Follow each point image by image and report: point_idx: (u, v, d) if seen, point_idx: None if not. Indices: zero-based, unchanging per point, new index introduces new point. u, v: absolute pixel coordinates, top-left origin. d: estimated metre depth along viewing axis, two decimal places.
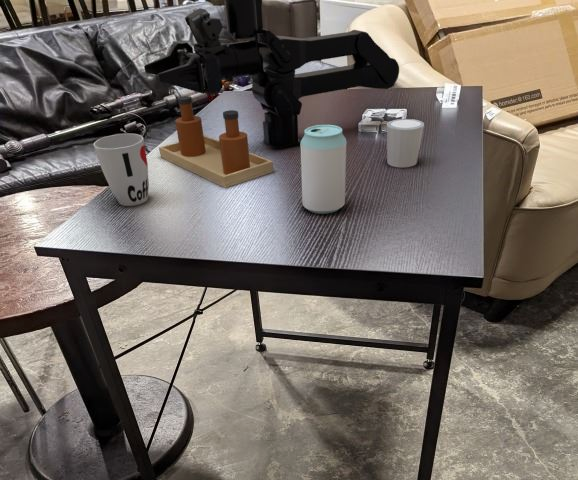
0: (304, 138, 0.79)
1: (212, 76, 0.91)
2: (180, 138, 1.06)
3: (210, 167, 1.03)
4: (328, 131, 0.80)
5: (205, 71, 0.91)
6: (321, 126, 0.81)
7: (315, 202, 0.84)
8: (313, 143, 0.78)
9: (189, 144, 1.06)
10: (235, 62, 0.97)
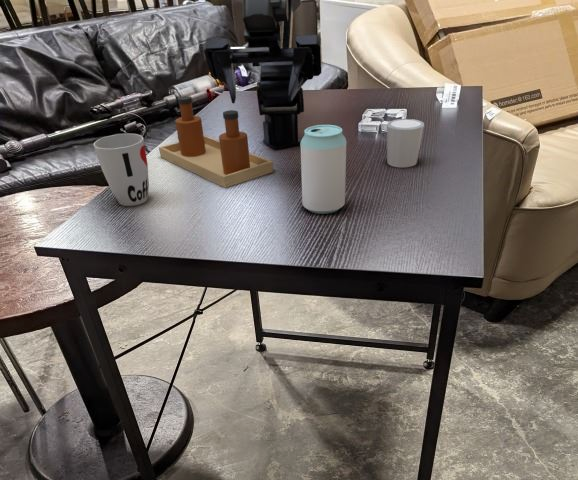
0: (304, 138, 0.79)
1: None
2: (180, 138, 1.06)
3: (210, 167, 1.03)
4: (328, 131, 0.80)
5: (316, 57, 0.84)
6: (321, 126, 0.81)
7: (315, 202, 0.84)
8: (313, 143, 0.78)
9: (189, 144, 1.06)
10: (283, 21, 0.87)
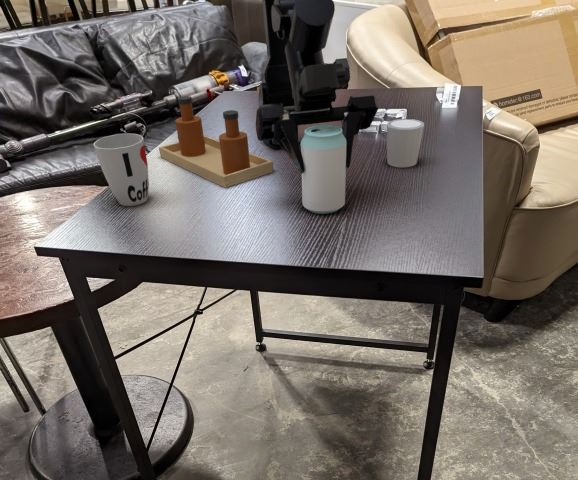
0: (304, 138, 0.79)
1: None
2: (180, 138, 1.06)
3: (210, 167, 1.03)
4: (328, 131, 0.80)
5: (370, 116, 0.83)
6: (321, 126, 0.81)
7: (315, 202, 0.84)
8: (313, 143, 0.78)
9: (189, 144, 1.06)
10: None
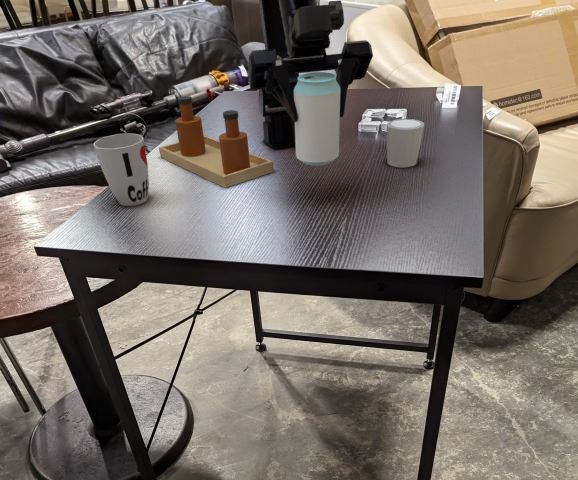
0: (297, 85, 0.78)
1: None
2: (180, 138, 1.06)
3: (210, 167, 1.03)
4: (322, 78, 0.78)
5: (365, 64, 0.81)
6: (315, 74, 0.80)
7: (308, 153, 0.82)
8: (306, 89, 0.77)
9: (189, 144, 1.06)
10: None
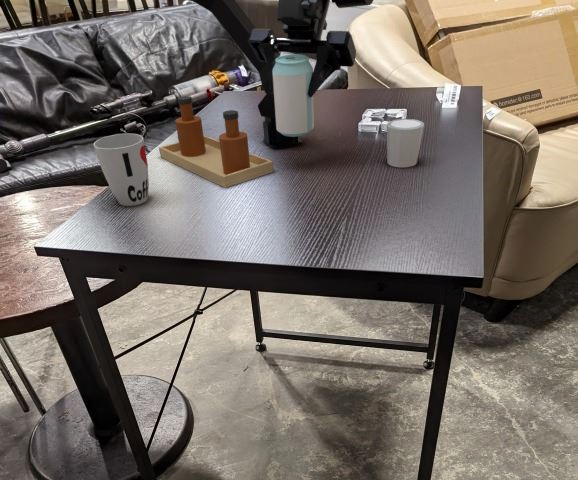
0: None
1: (352, 51, 0.90)
2: (180, 138, 1.06)
3: (210, 167, 1.03)
4: (296, 60, 0.90)
5: (345, 53, 0.89)
6: (299, 55, 0.92)
7: (278, 123, 0.96)
8: (275, 68, 0.90)
9: (189, 144, 1.06)
10: (326, 8, 0.91)
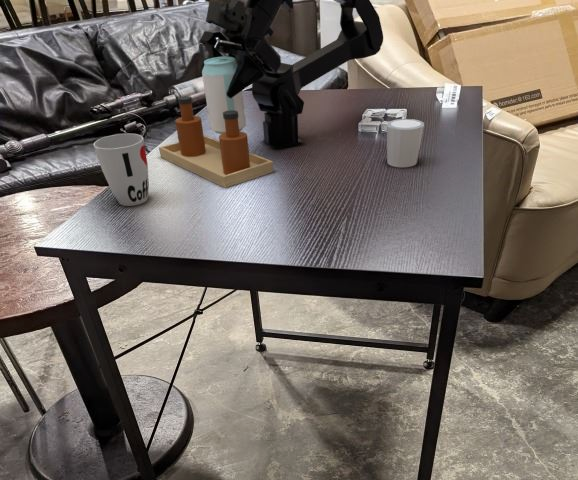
0: None
1: (270, 58, 0.92)
2: (180, 138, 1.06)
3: (210, 167, 1.03)
4: (222, 62, 0.95)
5: (262, 59, 0.92)
6: (232, 58, 0.97)
7: (209, 119, 1.02)
8: None
9: (189, 144, 1.06)
10: (266, 15, 0.94)
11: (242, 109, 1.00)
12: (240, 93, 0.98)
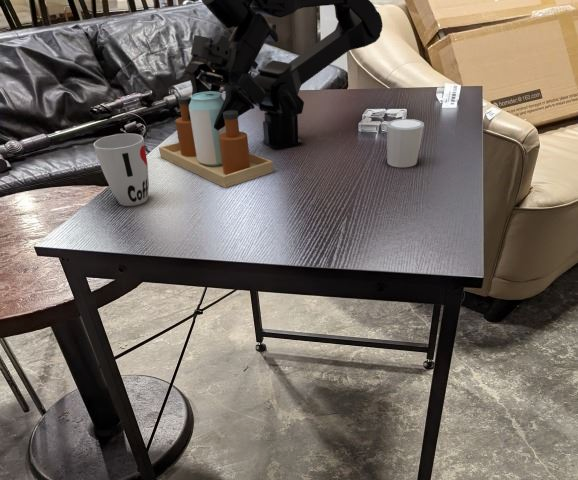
0: None
1: (253, 92, 0.93)
2: (180, 138, 1.06)
3: (210, 167, 1.03)
4: (208, 97, 0.97)
5: (246, 93, 0.93)
6: (218, 93, 0.98)
7: None
8: None
9: (189, 144, 1.06)
10: (251, 49, 0.96)
11: None
12: None
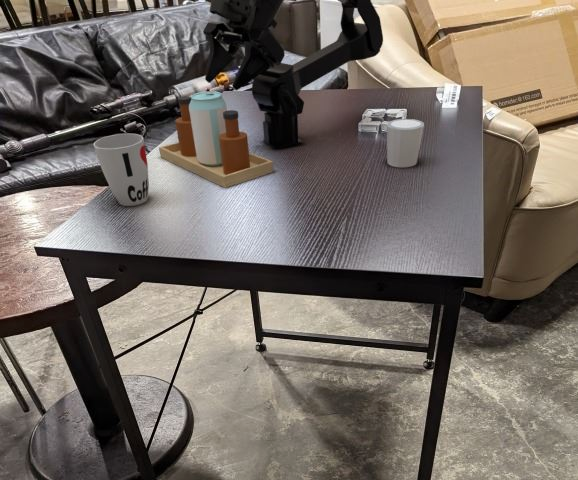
0: None
1: (274, 49, 0.91)
2: (180, 138, 1.06)
3: (210, 167, 1.03)
4: (208, 97, 0.97)
5: (266, 50, 0.91)
6: (218, 93, 0.98)
7: None
8: None
9: (189, 144, 1.06)
10: (270, 7, 0.94)
11: None
12: None
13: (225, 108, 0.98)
